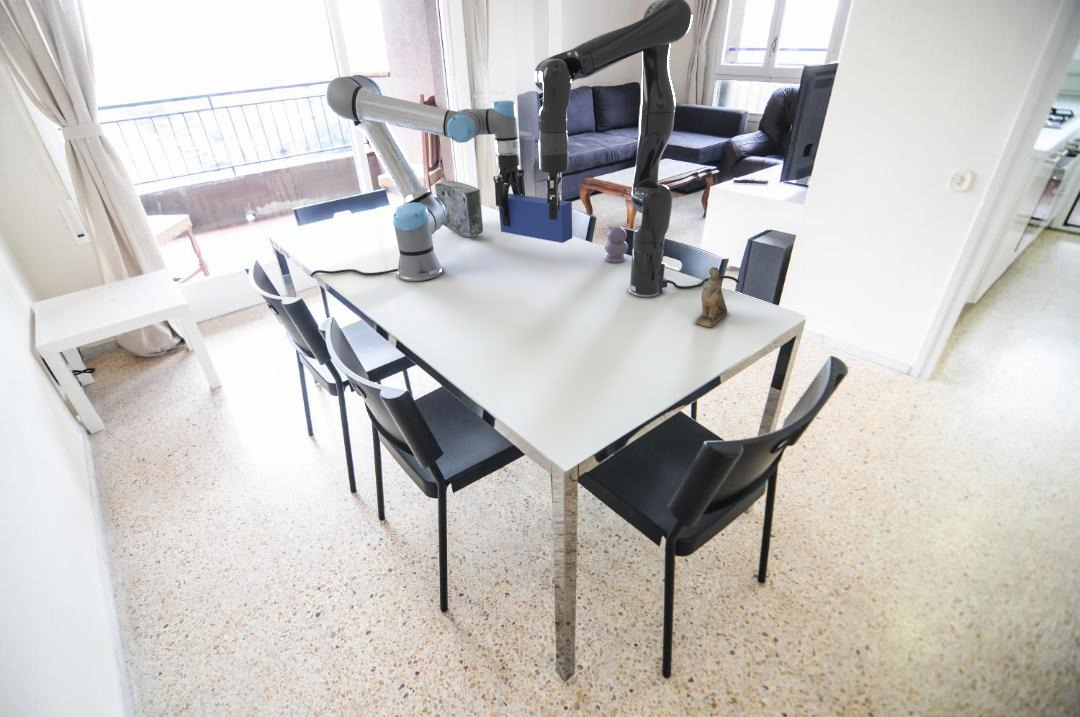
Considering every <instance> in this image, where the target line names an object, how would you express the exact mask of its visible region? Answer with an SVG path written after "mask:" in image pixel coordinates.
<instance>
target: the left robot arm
mask: <svg viewBox="0 0 1080 717" xmlns="http://www.w3.org/2000/svg"><path fill="white" fill-rule="evenodd" d="M324 95H325V101H326V104H327V106H328V108H329V110H330V111H331V112H332V113H333V114H334V115H336V116H337V117H339V118H341V119H344V120H349V121H352V123H353V125H354V126H355V128H356V129H358V130H360V131H362V132H363V134H364V135H365V136H366V138H367V140H368V141H369V144H370V145H371V147H372V149H373V150H374V152H375V154H376V156H377V157H378V159H379V161H380V162H381V164H382V166H383V168H384V169H385V171H386V173H387V174H388V177H389V178H390V180H391V181H392V183H393V185H394V186H395V188H396V190H397V192H398V194H399V195H400V198H401V204H400V205H398V206H397V207H395V208H394V210H393V212H392V224H393V226H394V230H395V231H394V232H395V236H396V241H397V247H398V251H399V259H398V265H397V268H393V269H388V270H384V271H376V272H364V271H360V270H358V269H354V268H346V269H338V270H323V269H322V270H321V269H319V270H318V269H317V270H314V271H312V272H311V273H310V277H314V276H315V275H316V274H327V275H334V274H342V273H356V274H359V275H361V276H380V275H386V274H391V273H396V272H397V276H398V278H399V279H400V280H402V281H406V282H413V283H414V282H425V281H429V280H432V279H435V278H438V277H439V276H440V275H441V274H442V273H443V268H442V264H441V263H440V260H439V259H438V256H437V254H436V252H435V250H434V243H433V236H432V235H433V234H435V233H436V232H437V231H439V230H440V229H441V227H442V226H444V225H443V223H444V221H445V218H446V210H445V207H444V205H443V203H442V202H441V201H440V200H439V199H438V198H437V196H434V194H433V192H432V191H431V189H430V188H428V187H425V186H424V185H423V183H422V181H421V180H420V178H419V176H418V174H417V172H416V171H415V168H414V167H413V165H412V163H411V161H410V160H409V158H408V156H407V154H406V153H405V150H404V149H403V147H402V145H401V143H400V141H399V140H398V138H397V136H396V135H395V132H394V131H393V129H392V127H391V126H394V127H395V126H396V127H399V128H404V129H408V130H413V131H418V132H422V133H428V134H431V135H436V136H440V137H445V138H448V139H451V140H453V142H456V143H467V142H469V141H472V140H473V139H474V138H475V137H477V136H482V135H483V136H484V135H494V146H495V153H496V157H495V158H496V159H495V160H496V166H497V167H498V169H499V171H498V175H493V177H492V179H493V183H494V195H495V196H494V197H495V206H496V207H498V208H499V207H500V208H501V216H502V219H503V226H508V227H509V226H510V217H509V207H507V202H508V194H510V193H509V192H510V188H511V191H512V194H516V195H524V196H526V191H525V190H526V189H525V179H524V176H525V170H524V169H522V168H521V169H520V168H519V166H520V154H519V153H518V152H519V150H520V149H519V136H518V115H517V109H516V103H515V102H514V101H513V100H495V101H492V102H491V108H463V109H458V110H456V111H455V110H450V109H448V108H447V109H446V108H443V107H438V106H433V105H428V104H424V103H419V102H415V101H411V100H406V99H401V98H396V97H391V96H387V95H384V94H383V91H382V89H381V87H380V86H379V85H378V83H377V82H376V81H375V79H374V80H373V79H372V78H371V77H368V76H366V75H360V74H354V75H350V76H349V75H348V76H338V77H334V78H333V79H332V80H330V81H329V83H328V84H327V86H326V88H325V94H324ZM503 203H504V204H503Z"/></svg>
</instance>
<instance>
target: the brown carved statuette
mask: <svg viewBox="0 0 1080 717" xmlns="http://www.w3.org/2000/svg"><path fill="white" fill-rule="evenodd" d="M708 273H709V275H710V276H709V277H708V278H709V279H708V281H707V284H706V286H705V287H704V288H703V290H702V292H701V297H700V298H701V309H702V312H701V315H700V316H699V317H698V318H697V319H696V321H695V324H696V325H699V326H703V327H705V328H712V327H714V326H715V325H716V324H717V323H719V321H721V320H722V319H723V318H725V317H726V316H727V315H728V307H727V304H726V301H725V298H724V293H723V290H722V287H723V281H722V278H721V279H720V278H719V276H720V270H719V269H718V268H717V267H715V266H712V267H711V268H710V269H709V270H708Z"/></svg>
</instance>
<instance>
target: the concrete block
mask: <svg viewBox="0 0 1080 717" xmlns="http://www.w3.org/2000/svg"><path fill="white" fill-rule="evenodd" d="M434 187H435V195H436V198H438V199H439V200H440V201H441V202H442V203H443V205H444V207H445V210H446V218H445V221H444V223H443V225H442V226H443V227H445V228H448V229H449V230H450V231H452V232H454V233H456V234H457V235H459V236H462V237H464V238H465V237H466V238H472V237H475V236H477V235H480V234H483V233H484V224H483V223H484V222H483V211H482V201H481V200H482V199H481V190H480V189H479V188H478V187H475V186H473V185H470V184H467V183H465V182H464V183H463V182H461V181H460V182H459V181H455V180H444V181H439V182H436V183H435V184H434Z"/></svg>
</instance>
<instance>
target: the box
mask: <svg viewBox="0 0 1080 717" xmlns="http://www.w3.org/2000/svg"><path fill="white" fill-rule="evenodd" d="M550 200H552V198H550ZM503 204H504V203H503ZM507 207H509V217H510V226H509V227H508V226H503V219H502V216H501V208H500V207H498V212H499V224H500V232H501V233H506V234H512V235H517V236H522V237H527V238H531V239H532V238H533V239H539V240H544V241H549V242H554V243H559V244H563V243H566V242H568V241H569V240H572V239H573V202H572V201H569V200H562V199H560V210H559V211H558V218H557V220H550V219H549V205H548V204H547V198H546V197H539V196H538V197H537V196H532V195H531V196H530V195H525V196H524V195H522V194H521V195H516V194H513V193H508V202H507Z"/></svg>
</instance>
